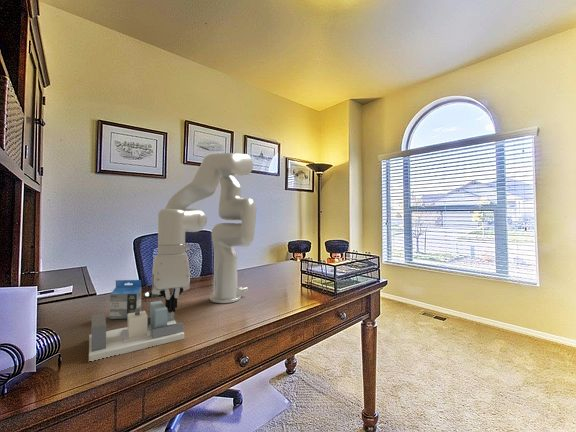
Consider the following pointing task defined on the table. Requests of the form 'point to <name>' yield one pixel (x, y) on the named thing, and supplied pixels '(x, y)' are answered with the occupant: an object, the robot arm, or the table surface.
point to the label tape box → (125, 299)
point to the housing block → (137, 323)
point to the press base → (129, 343)
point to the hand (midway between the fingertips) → (171, 311)
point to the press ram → (158, 314)
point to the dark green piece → (154, 294)
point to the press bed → (100, 332)
